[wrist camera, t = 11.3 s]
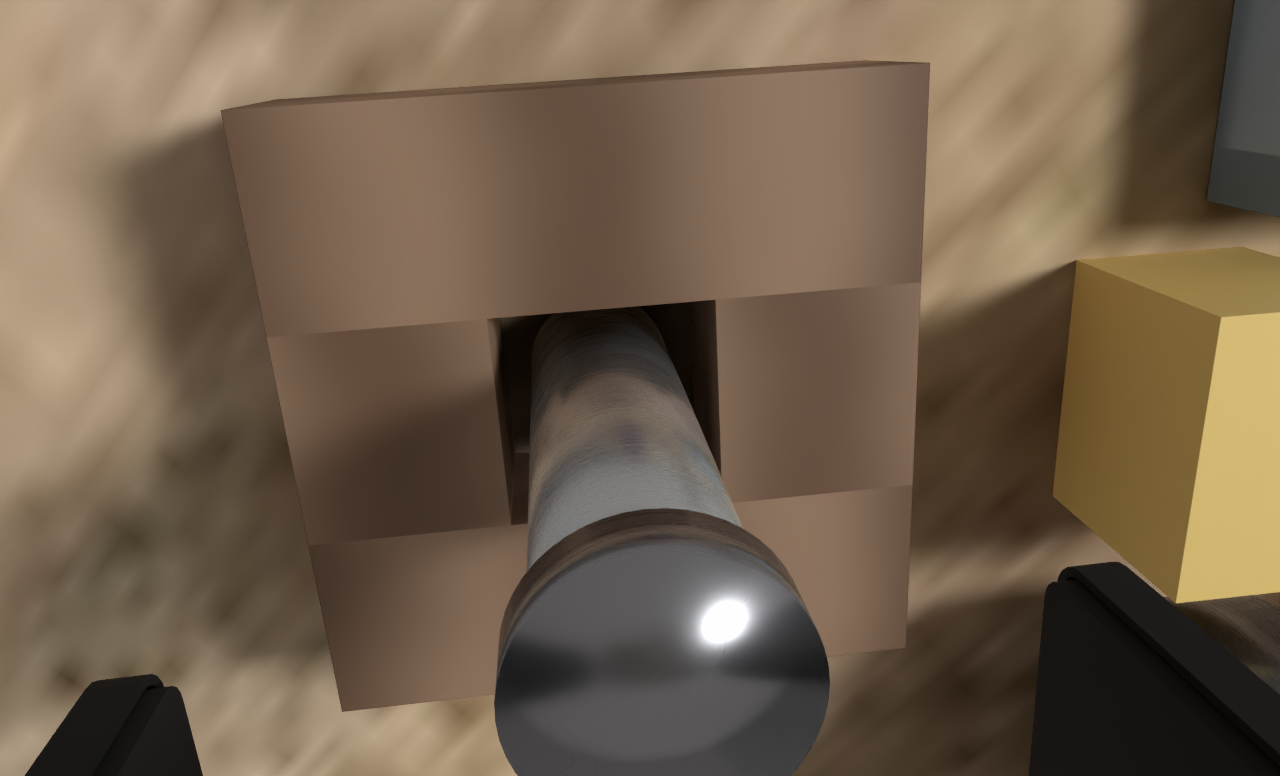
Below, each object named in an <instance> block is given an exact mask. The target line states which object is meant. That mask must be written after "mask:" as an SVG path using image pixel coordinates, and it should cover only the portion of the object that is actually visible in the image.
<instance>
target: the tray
mask: <svg viewBox="0 0 1280 776" xmlns="http://www.w3.org/2000/svg"><path fill="white" fill-rule="evenodd" d="M1207 201H1210V202H1214V203H1219V204H1223V205H1228V206H1232V207H1236V208H1241V209H1245V210H1250V211H1254V212H1258V213H1263V214H1267V215H1272V216H1276V217H1280V0H1235V3H1234V10H1233V17H1232V25H1231V32H1230V39H1229V46H1228V53H1227V60H1226V67H1225V74H1224V81H1223V88H1222V95H1221V102H1220V109H1219V116H1218V123H1217V130H1216V138H1215V145H1214V152H1213V159H1212V166H1211V173H1210V180H1209V187H1208V194H1207Z"/></svg>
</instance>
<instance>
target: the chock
mask: <svg viewBox="0 0 1280 776" xmlns="http://www.w3.org/2000/svg"><path fill="white" fill-rule="evenodd" d="M1053 497H1054V498H1056V499H1057V500H1058V501H1059V502H1060V503H1061V504H1062V505H1064V506H1065V507H1066V508H1067V509H1068V510H1069V511H1070V512H1072V513H1073V514H1074V515H1075V516H1076V517H1077V518H1078V519H1080V520H1081V521H1082V522H1083V523H1084V524H1085V525H1086V526H1088V527H1089V528H1090V529H1091V530H1092V531H1093V532H1094V533H1096V534H1097V535H1098V536H1099V537H1100V538H1101V539H1103V540H1104V541H1105V542H1106V543H1107V544H1108V545H1109V546H1111V547H1112V548H1113V549H1114V550H1115V551H1116V552H1117V553H1119V554H1120V555H1121V556H1122V557H1123V558H1124V559H1125V560H1127V561H1128V562H1129V563H1130V564H1131V565H1132V566H1133V567H1135V568H1136V569H1137V570H1138V571H1139V572H1140V573H1142V574H1143V575H1144V576H1145V577H1146V578H1147V579H1148V580H1150V581H1151V582H1152V583H1153V584H1154V585H1155V586H1156V587H1158V588H1159V589H1160V590H1161V591H1162V592H1163V593H1164V594H1166V595H1167V596H1168V597H1169V598H1170V599H1171V600H1172V601H1174V602H1175V603H1184V602H1194V601H1203V600H1212V599H1221V598H1230V597H1239V596H1249V595H1258V594H1267V593H1276V592H1280V258H1279V257H1276V256H1272V255H1269V254H1265V253H1262V252H1258V251H1255V250H1251V249H1248V248H1244V247H1234V248H1222V249H1209V250H1196V251H1184V252H1171V253H1158V254H1146V255H1133V256H1120V257H1108V258H1095V259H1083V260H1077V261H1076V271H1075V281H1074V291H1073V301H1072V310H1071V320H1070V330H1069V340H1068V350H1067V360H1066V369H1065V379H1064V389H1063V399H1062V409H1061V419H1060V428H1059V438H1058V448H1057V458H1056V468H1055V478H1054V487H1053Z"/></svg>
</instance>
